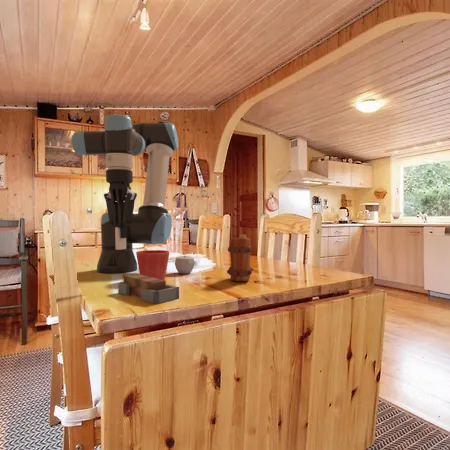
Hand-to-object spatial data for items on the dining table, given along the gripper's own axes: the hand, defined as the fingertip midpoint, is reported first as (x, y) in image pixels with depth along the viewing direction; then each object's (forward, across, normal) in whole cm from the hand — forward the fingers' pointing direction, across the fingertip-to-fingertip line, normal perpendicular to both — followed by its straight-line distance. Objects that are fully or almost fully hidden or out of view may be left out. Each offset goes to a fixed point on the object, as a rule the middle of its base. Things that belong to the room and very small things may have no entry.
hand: (121, 248), depth 100 cm
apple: (+13, -2, +29) cm, 32 cm away
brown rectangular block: (+12, +13, -2) cm, 17 cm away
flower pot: (+12, -1, +13) cm, 18 cm away
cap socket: (+11, +20, -3) cm, 23 cm away
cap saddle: (+12, +8, -2) cm, 14 cm away
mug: (+12, +22, +32) cm, 41 cm away
